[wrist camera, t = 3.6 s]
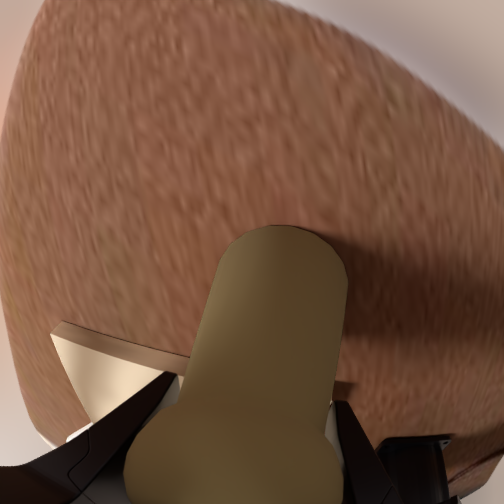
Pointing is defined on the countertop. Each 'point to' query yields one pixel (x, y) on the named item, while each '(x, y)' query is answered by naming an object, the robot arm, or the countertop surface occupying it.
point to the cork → (254, 384)
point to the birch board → (109, 367)
